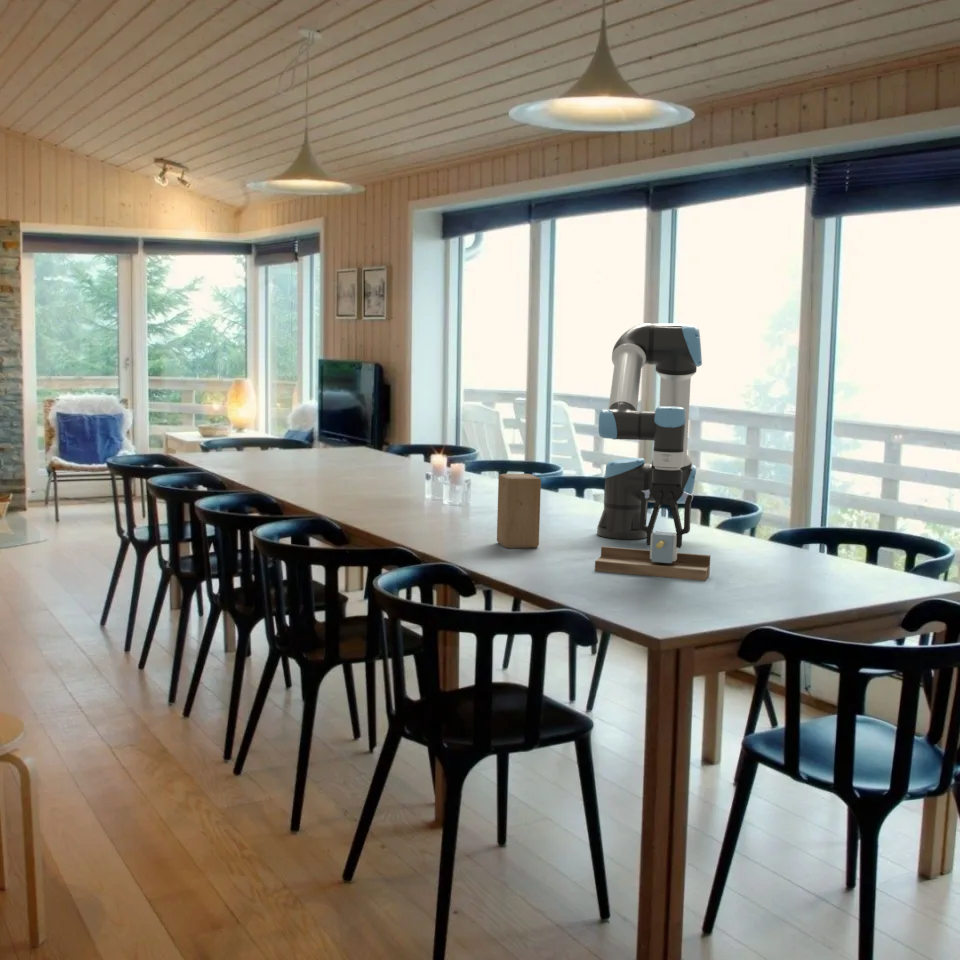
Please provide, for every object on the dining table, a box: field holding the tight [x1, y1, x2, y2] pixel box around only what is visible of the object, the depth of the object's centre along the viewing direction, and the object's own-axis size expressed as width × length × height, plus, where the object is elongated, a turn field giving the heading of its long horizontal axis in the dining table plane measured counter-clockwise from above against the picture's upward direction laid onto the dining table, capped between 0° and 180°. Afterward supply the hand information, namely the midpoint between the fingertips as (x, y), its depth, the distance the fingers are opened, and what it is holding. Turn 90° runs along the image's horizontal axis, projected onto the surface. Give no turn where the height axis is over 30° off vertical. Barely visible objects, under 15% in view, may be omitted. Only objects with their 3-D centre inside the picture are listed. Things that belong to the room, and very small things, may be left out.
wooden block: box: [496, 473, 542, 549], centre depth 323 cm, size 10×10×20 cm
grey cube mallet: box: [652, 531, 676, 563], centre depth 287 cm, size 10×5×7 cm, turn 161°
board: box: [594, 545, 711, 582], centre depth 291 cm, size 8×28×5 cm, turn 72°
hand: (663, 559), depth 290 cm, fingers closed on grey cube mallet, 5 cm apart
